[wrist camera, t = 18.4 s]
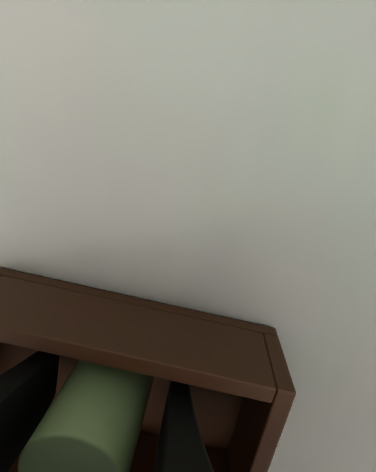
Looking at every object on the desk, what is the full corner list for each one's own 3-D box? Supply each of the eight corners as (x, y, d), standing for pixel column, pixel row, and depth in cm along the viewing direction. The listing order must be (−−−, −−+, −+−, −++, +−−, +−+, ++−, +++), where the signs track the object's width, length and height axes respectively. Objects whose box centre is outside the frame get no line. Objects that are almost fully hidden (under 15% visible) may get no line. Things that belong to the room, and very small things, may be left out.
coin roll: (135, 401, 14) (94, 535, 9) (74, 367, 14) (-1, 487, 9) (170, 352, 13) (144, 472, 8) (106, 315, 13) (42, 416, 8)
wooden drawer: (-2, 266, 13) (-77, 309, 10) (275, 327, 13) (297, 393, 10) (-7, 395, 15) (-71, 468, 12) (236, 451, 15) (242, 542, 12)
